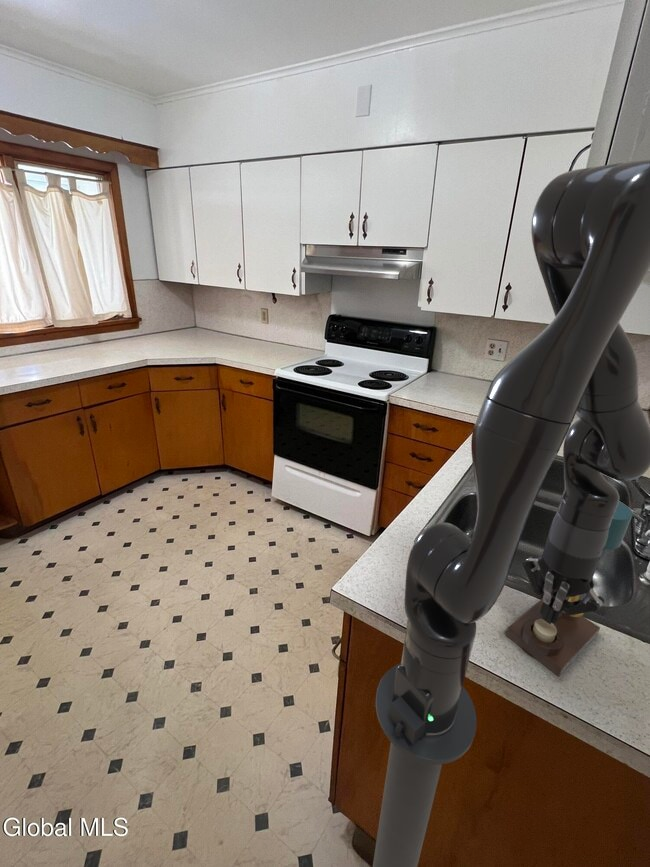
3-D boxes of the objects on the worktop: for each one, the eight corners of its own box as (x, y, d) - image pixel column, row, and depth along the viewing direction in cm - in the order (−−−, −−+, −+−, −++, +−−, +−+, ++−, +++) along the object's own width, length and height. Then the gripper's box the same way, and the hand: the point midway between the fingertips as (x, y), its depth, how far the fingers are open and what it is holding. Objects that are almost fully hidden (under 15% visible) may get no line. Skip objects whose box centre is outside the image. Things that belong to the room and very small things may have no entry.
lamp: (580, 629, 76) (621, 525, 66) (542, 604, 81) (575, 503, 71) (598, 611, 80) (640, 510, 70) (561, 588, 85) (595, 490, 75)
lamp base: (556, 679, 71) (562, 663, 70) (503, 637, 79) (507, 622, 77) (596, 635, 79) (603, 620, 78) (545, 601, 87) (550, 586, 85)
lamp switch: (547, 646, 73) (550, 639, 72) (528, 632, 76) (530, 625, 75) (558, 636, 75) (561, 629, 74) (539, 622, 78) (541, 615, 77)
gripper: (522, 527, 69) (502, 604, 77) (610, 575, 60) (576, 659, 67) (546, 511, 73) (525, 586, 81) (632, 554, 64) (598, 635, 71)
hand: (548, 619), depth 74 cm, fingers closed
